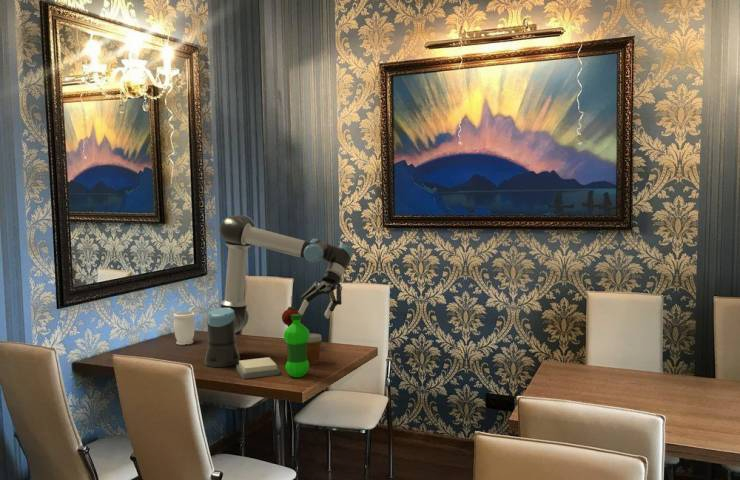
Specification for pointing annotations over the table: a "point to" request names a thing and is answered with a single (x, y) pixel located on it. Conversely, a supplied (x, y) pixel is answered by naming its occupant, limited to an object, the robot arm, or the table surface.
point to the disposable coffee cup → (313, 348)
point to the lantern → (289, 315)
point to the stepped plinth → (257, 374)
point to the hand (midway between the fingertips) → (312, 315)
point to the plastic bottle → (296, 347)
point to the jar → (184, 327)
